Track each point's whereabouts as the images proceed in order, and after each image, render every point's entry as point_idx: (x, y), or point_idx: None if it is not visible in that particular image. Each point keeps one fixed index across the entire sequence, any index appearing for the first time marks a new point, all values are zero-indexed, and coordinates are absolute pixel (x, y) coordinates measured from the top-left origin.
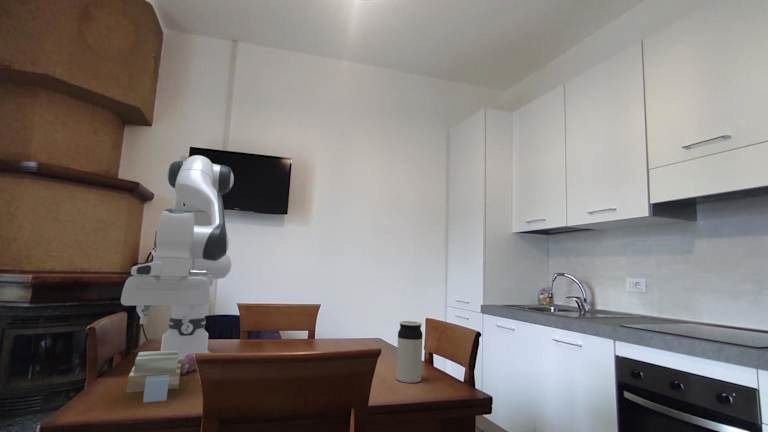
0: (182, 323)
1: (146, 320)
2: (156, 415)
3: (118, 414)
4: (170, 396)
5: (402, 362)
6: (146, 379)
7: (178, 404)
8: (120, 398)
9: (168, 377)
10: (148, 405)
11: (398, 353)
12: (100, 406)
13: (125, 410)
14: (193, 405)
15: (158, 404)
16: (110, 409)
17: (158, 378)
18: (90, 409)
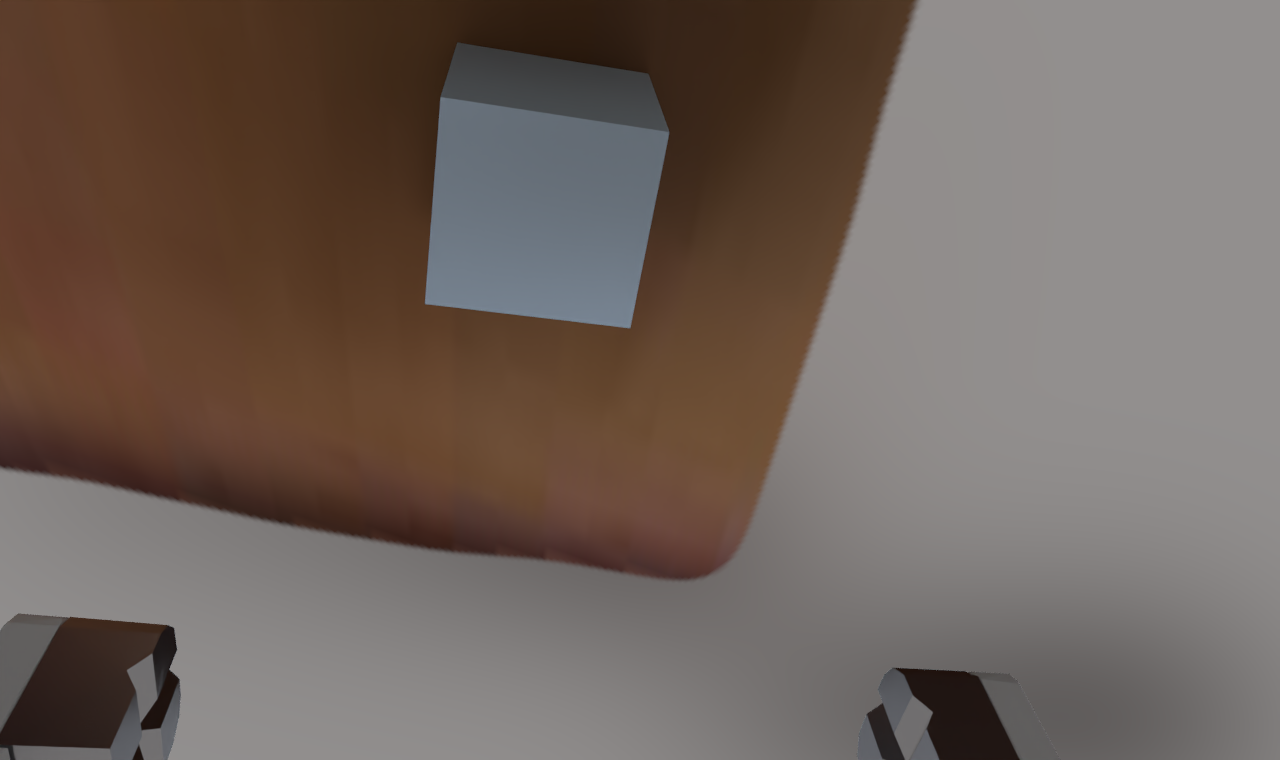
0: (867, 736)
1: (141, 721)
2: (522, 513)
3: (293, 413)
4: None
5: None
6: (433, 239)
7: (680, 373)
8: (245, 9)
9: (640, 249)
10: None
11: None
12: (121, 182)
13: (329, 353)
14: (764, 430)
15: None
16: (218, 289)
17: (545, 251)
18: (62, 227)
